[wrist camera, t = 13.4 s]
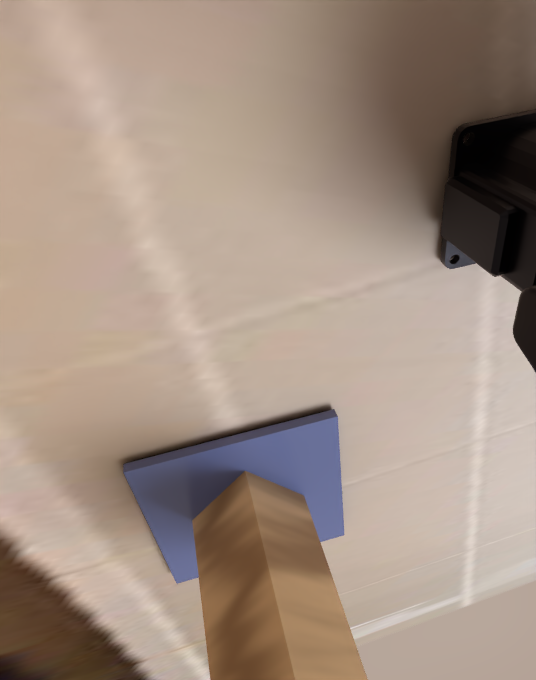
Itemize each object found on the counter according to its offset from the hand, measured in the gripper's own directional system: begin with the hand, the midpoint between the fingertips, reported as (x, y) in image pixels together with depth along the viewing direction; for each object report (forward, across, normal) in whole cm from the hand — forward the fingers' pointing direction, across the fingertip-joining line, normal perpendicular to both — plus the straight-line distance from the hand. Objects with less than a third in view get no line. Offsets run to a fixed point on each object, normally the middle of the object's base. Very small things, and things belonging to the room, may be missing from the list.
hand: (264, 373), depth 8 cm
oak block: (+12, +1, +21) cm, 24 cm away
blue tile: (+13, +1, +21) cm, 25 cm away
